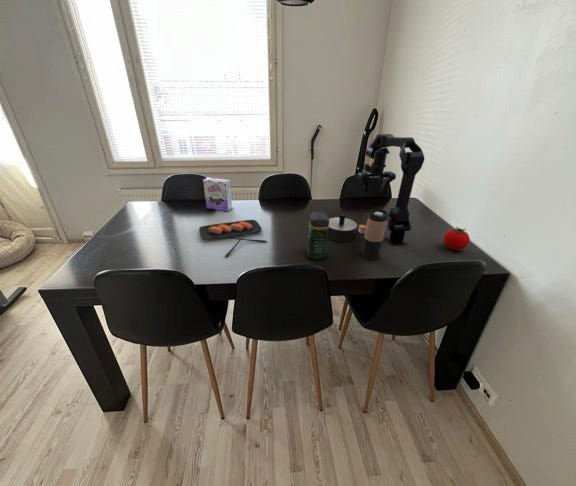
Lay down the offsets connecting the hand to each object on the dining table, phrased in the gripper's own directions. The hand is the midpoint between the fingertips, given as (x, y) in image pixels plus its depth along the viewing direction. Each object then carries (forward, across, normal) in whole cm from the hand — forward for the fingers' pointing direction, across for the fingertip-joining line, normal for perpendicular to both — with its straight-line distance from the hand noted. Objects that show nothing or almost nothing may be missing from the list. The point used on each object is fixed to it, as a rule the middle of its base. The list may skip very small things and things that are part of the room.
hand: (373, 192), depth 153 cm
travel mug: (+15, +17, +38) cm, 44 cm away
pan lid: (+9, +23, +17) cm, 30 cm away
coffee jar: (+15, +40, +33) cm, 53 cm away
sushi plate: (+15, +74, +13) cm, 76 cm away
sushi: (+14, +9, +15) cm, 23 cm away
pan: (+14, +23, +17) cm, 32 cm away
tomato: (+15, -24, +38) cm, 48 cm away
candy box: (+14, +80, -26) cm, 85 cm away
